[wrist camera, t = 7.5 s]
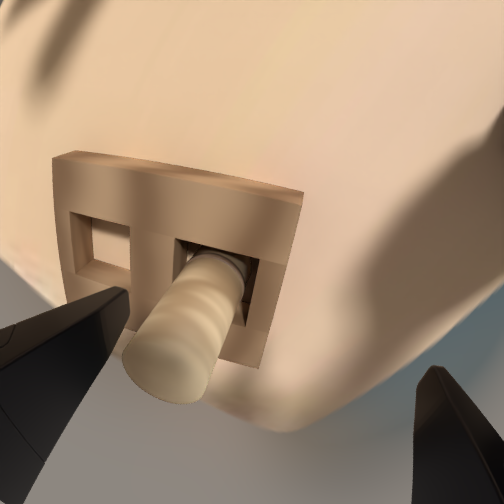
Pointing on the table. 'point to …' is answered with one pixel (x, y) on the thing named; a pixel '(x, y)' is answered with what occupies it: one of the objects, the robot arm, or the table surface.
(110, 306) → the robot arm
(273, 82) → the table surface
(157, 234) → the board
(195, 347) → the dowel
